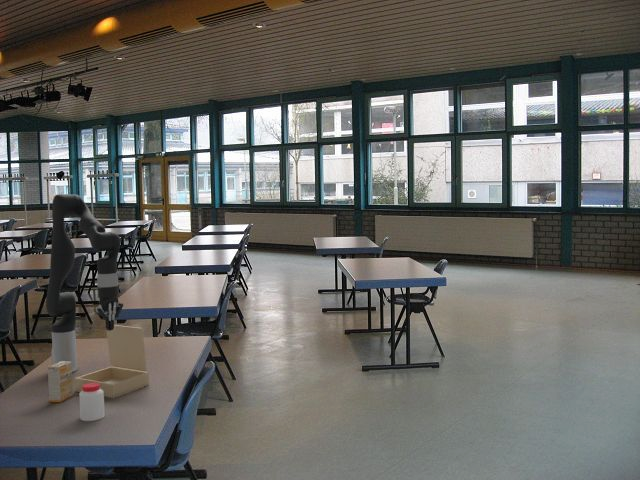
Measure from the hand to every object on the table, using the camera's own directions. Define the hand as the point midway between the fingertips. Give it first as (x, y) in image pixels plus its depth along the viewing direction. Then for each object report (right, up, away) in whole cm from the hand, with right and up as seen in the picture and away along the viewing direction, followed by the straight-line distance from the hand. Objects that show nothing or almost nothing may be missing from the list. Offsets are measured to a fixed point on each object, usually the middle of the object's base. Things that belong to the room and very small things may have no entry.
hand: (110, 330), depth 255 cm
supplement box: (-14, -24, -11) cm, 30 cm away
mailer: (0, -22, +2) cm, 23 cm away
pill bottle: (+4, -25, -31) cm, 40 cm away
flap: (+4, -8, +7) cm, 11 cm away
